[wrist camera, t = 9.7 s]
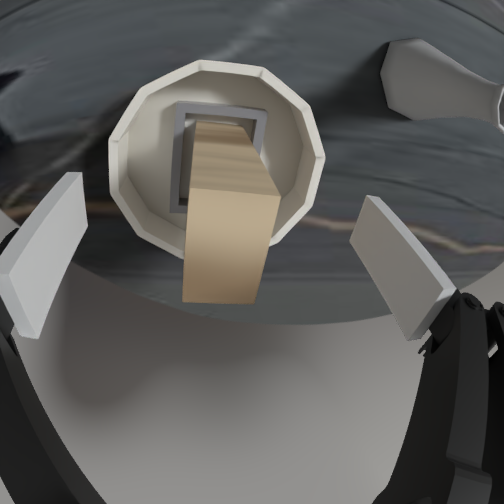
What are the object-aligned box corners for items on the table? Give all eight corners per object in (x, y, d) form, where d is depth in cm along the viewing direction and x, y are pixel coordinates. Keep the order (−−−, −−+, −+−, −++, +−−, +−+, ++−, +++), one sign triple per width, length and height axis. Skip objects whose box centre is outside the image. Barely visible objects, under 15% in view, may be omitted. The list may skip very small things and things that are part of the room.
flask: (376, 117, 20) (465, 165, 12) (378, 28, 16) (478, 33, 8) (442, 123, 21) (526, 170, 13) (447, 47, 17) (541, 69, 9)
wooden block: (196, 120, 18) (190, 188, 9) (242, 125, 19) (280, 196, 10) (188, 189, 21) (182, 301, 12) (230, 192, 22) (254, 304, 13)
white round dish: (127, 58, 15) (112, 59, 13) (322, 79, 18) (343, 85, 15) (124, 229, 23) (115, 255, 20) (284, 237, 26) (295, 263, 23)
